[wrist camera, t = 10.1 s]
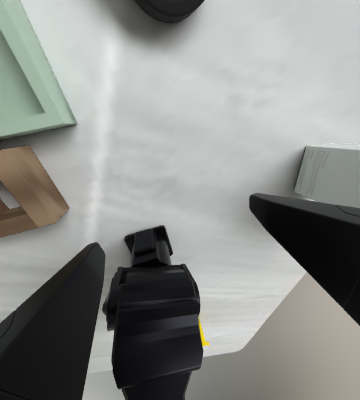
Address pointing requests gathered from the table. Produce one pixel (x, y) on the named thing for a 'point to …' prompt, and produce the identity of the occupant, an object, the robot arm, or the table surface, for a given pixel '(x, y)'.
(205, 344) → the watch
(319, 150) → the skincare box
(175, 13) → the caster wheel
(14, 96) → the tray
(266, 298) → the table surface
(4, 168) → the socket block
